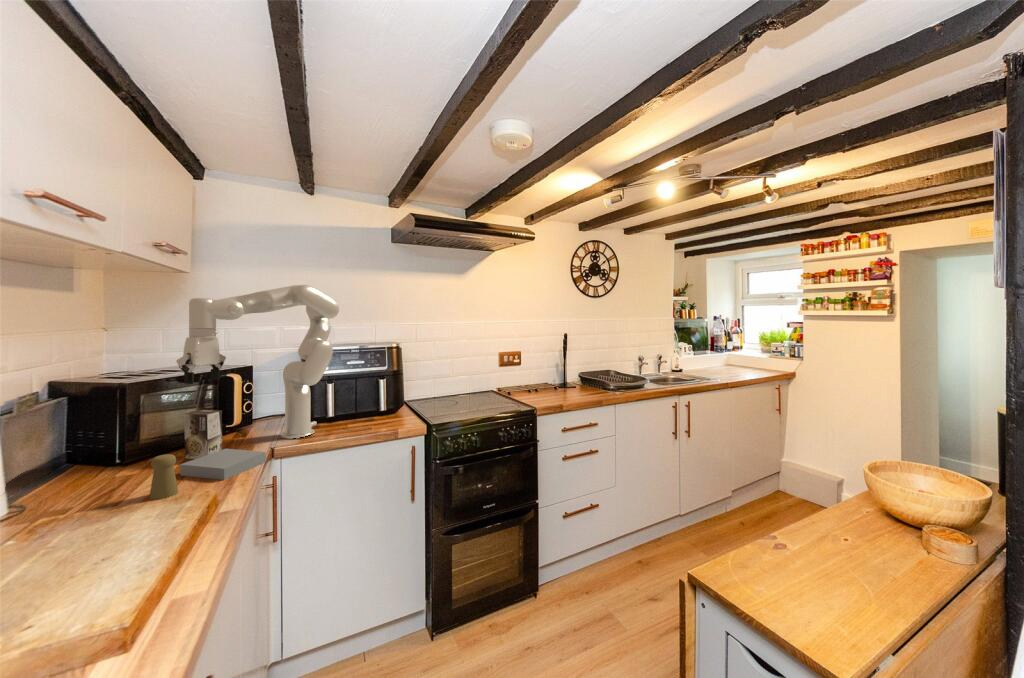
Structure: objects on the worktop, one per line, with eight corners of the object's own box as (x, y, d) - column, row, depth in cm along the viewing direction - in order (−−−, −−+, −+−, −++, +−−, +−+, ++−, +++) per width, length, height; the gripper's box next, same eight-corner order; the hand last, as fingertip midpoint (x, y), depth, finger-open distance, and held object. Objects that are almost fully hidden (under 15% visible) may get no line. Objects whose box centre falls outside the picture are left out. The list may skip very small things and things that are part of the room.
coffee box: (223, 454, 142) (223, 410, 141) (207, 460, 136) (207, 414, 135) (200, 452, 143) (199, 409, 142) (183, 458, 136) (183, 413, 136)
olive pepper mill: (168, 498, 106) (168, 459, 106) (143, 500, 105) (142, 459, 105) (183, 489, 112) (183, 451, 112) (159, 490, 111) (159, 452, 111)
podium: (225, 458, 138) (225, 448, 138) (265, 462, 135) (265, 452, 135) (180, 475, 122) (180, 464, 122) (224, 480, 119) (224, 468, 119)
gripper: (216, 332, 147) (215, 378, 147) (168, 333, 130) (168, 384, 130) (233, 333, 145) (233, 379, 146) (187, 334, 128) (187, 385, 129)
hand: (202, 381), depth 138 cm, fingers open, 9 cm apart
